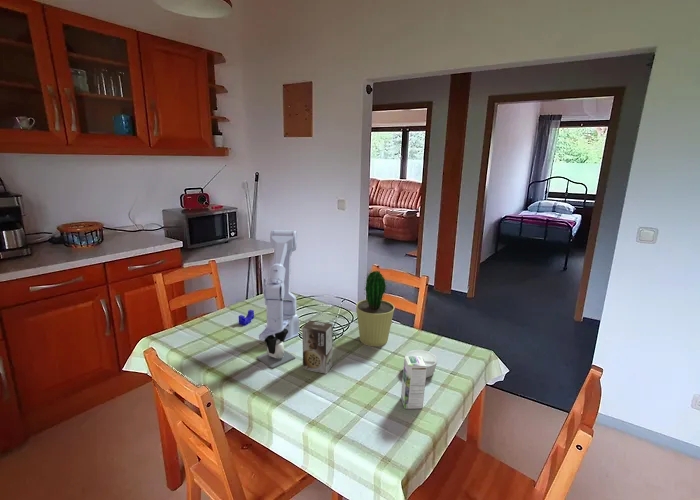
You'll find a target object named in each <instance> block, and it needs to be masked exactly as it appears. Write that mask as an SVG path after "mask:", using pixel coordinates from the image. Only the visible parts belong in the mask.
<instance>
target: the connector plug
mask: <svg viewBox="0 0 700 500" xmlns="http://www.w3.org/2000/svg"><path fill="white" fill-rule="evenodd" d="M266 350H267V351H266V353H267V355H269V356H271V357H274V358H282V357H284V351H285V341H284V342H282V341H280V340H279V339H277V341H276V345H275V353H274V354H271V353H269V350H268V347H267V346H266Z"/></svg>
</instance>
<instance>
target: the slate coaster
mask: <svg viewBox="0 0 700 500" xmlns="http://www.w3.org/2000/svg"><path fill="white" fill-rule="evenodd" d="M256 359H257V360H258V361H260V362H262V363H263V364H264V365H266V366H268V367H269V368H271V369H272V370H274V369H276V368H278V367H281V366H282V365H284V364H287V363H289V362H291V361H293V360H295V359H296V356H294V355H293V354H290V353H289V352H288V351H286V350H284V357H282V358H274V357H271V356H269V355H267V352H265V353H263V354H260V355H258V356H256Z"/></svg>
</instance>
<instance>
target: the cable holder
mask: <svg viewBox="0 0 700 500" xmlns="http://www.w3.org/2000/svg"><path fill="white" fill-rule="evenodd" d="M254 311H255V310H254V309H249V310H247V315H246V316H245V315H242V314H240V315H239V316H238V325H241V326H247V325H250V324H251V323H252V321H253V319H255V312H254Z"/></svg>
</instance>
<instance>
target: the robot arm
mask: <svg viewBox="0 0 700 500" xmlns="http://www.w3.org/2000/svg"><path fill="white" fill-rule="evenodd" d="M269 242H270V245H271V247H272V249H273V250H274V252H273V253H274V255H273V264H272V265H271V266H270V267H269V272H268V277H267V284H265V285H264V288H263V300H264V304H265V306H266V325H265V328H264V329H263V331H262V332H260V333H259V334H258V340H260V341H262V342H263V341H264V342H265V345H266V348H267V347H268V350H269V353H271V354H274V353H275V345H276V341H277V339H279V340H280V341H282V342H284V343H285V342H286V341H288V340H290V339H293V338H296V337H298V336H300V335H299V334H298V332H299V333H300V318H299V315H298V314H297V307H298V304H297V303H298V302H297V297H296V295H295V294H293V293H292V292H291V265H292V264H291V262H292V254H293V252H296V251H297V248H298V231H296V229H293V230H292V229H291V230H290V229H289V230H286V229H272V230H271V231H270V234H269Z"/></svg>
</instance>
